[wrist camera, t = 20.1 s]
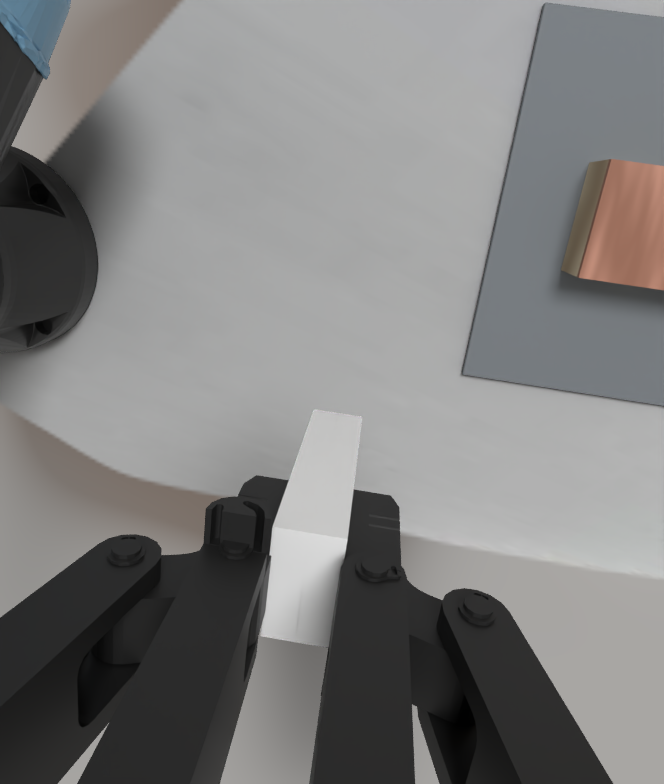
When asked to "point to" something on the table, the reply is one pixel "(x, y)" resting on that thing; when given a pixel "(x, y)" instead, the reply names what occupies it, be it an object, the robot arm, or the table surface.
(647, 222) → the face block
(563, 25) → the mat
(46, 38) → the robot arm
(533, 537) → the table surface
